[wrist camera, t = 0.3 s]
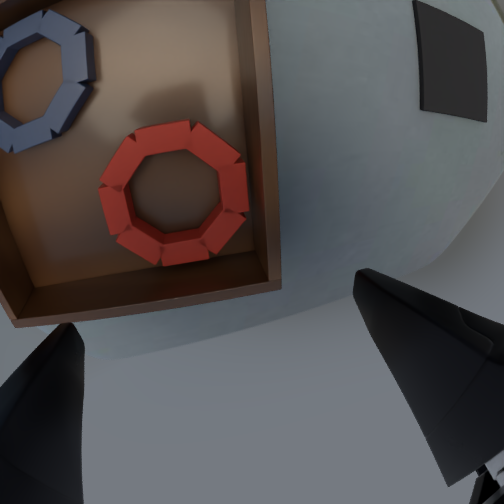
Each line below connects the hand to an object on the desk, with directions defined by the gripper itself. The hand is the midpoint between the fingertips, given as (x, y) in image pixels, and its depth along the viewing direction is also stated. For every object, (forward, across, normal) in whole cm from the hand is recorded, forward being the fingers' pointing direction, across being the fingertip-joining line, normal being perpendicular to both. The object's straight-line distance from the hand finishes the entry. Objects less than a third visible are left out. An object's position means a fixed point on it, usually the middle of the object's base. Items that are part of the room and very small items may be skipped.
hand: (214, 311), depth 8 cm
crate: (+12, +6, -5) cm, 14 cm away
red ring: (+12, +1, 0) cm, 12 cm away
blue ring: (+12, +10, -10) cm, 18 cm away
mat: (+12, -23, -10) cm, 28 cm away
